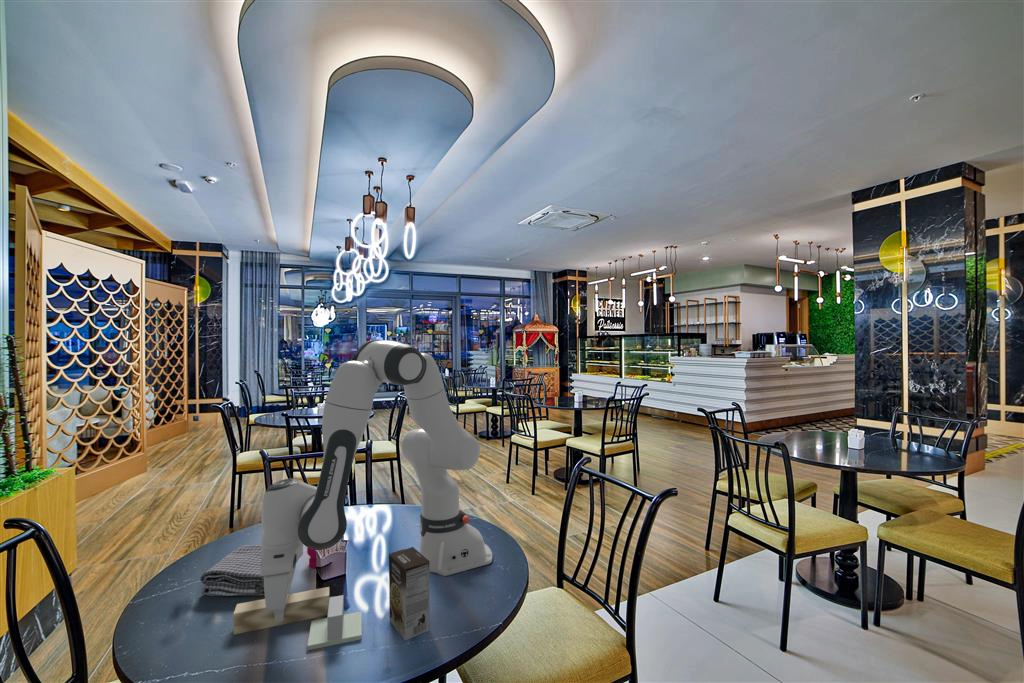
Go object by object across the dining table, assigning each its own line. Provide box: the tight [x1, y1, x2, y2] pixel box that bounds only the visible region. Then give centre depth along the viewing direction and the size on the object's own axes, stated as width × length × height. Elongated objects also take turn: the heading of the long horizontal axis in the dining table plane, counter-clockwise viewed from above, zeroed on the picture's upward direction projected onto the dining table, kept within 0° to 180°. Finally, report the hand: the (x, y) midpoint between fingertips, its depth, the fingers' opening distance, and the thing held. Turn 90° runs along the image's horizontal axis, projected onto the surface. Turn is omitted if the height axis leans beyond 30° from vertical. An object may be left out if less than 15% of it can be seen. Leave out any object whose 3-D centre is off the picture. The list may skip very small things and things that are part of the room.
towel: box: [199, 544, 265, 597], centre depth 124 cm, size 15×18×8 cm
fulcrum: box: [306, 594, 363, 651], centre depth 103 cm, size 11×9×6 cm
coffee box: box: [388, 546, 431, 641], centre depth 105 cm, size 9×6×16 cm
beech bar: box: [232, 586, 330, 635], centre depth 108 cm, size 20×4×5 cm, turn 111°
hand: (282, 608), depth 107 cm, fingers open, 8 cm apart
